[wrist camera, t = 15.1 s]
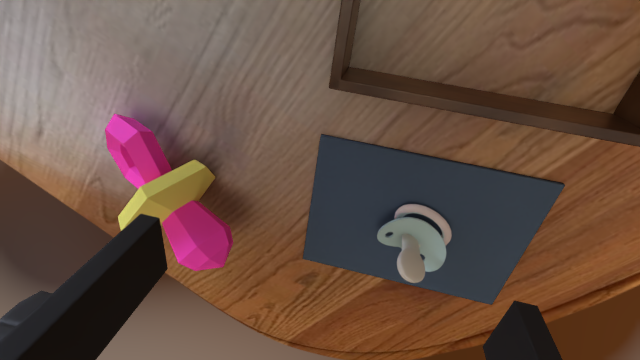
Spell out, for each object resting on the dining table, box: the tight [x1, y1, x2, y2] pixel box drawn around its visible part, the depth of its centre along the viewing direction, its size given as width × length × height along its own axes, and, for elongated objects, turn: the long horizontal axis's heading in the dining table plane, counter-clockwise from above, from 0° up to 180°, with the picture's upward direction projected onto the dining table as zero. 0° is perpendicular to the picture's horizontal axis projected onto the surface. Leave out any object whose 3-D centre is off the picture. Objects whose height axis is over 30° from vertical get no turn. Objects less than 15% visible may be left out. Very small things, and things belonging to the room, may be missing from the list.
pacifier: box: [377, 204, 452, 283], centre depth 31 cm, size 7×6×6 cm
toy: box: [105, 114, 233, 271], centre depth 33 cm, size 10×18×10 cm, turn 46°
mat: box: [303, 134, 565, 305], centre depth 34 cm, size 22×16×1 cm
